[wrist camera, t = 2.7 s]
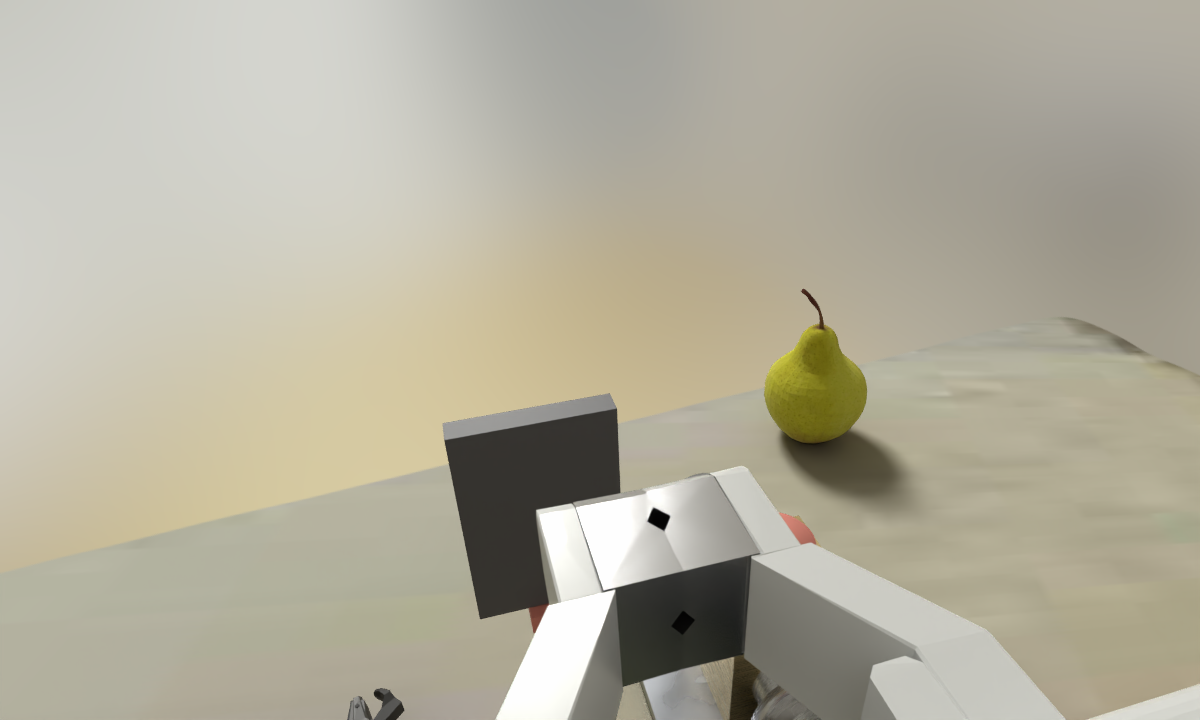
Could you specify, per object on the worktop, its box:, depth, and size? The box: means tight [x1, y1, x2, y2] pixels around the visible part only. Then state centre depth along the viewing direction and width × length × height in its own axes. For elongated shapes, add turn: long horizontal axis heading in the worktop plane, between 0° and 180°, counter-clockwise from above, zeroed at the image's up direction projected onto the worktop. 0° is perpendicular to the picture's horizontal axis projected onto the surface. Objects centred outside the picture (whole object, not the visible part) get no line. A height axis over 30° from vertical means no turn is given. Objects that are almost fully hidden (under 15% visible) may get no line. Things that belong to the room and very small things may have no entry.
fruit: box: [764, 289, 867, 443], centre depth 49 cm, size 7×7×12 cm
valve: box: [640, 473, 822, 720], centre depth 34 cm, size 12×18×8 cm, turn 14°
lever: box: [443, 394, 816, 633], centre depth 28 cm, size 15×4×10 cm, turn 104°
